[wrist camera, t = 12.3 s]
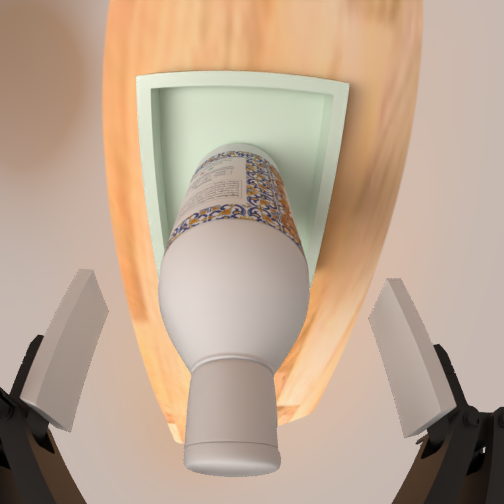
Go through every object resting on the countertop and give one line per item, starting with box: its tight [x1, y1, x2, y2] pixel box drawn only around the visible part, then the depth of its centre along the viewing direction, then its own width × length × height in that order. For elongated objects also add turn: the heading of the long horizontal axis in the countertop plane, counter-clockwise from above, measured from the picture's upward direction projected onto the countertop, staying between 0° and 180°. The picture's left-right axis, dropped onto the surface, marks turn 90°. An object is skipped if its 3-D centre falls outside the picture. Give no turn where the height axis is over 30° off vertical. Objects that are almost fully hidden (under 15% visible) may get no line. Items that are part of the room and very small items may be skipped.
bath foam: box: [158, 144, 310, 477], centre depth 15 cm, size 7×7×20 cm
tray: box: [136, 70, 350, 288], centre depth 22 cm, size 18×14×3 cm
